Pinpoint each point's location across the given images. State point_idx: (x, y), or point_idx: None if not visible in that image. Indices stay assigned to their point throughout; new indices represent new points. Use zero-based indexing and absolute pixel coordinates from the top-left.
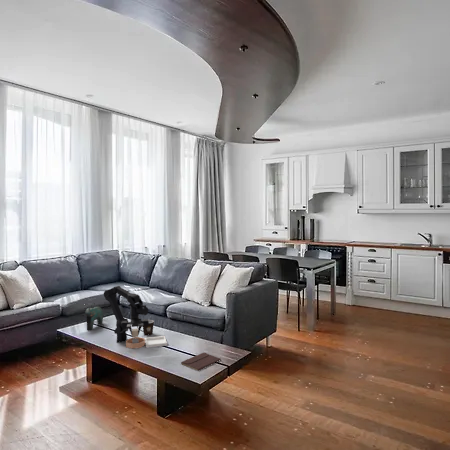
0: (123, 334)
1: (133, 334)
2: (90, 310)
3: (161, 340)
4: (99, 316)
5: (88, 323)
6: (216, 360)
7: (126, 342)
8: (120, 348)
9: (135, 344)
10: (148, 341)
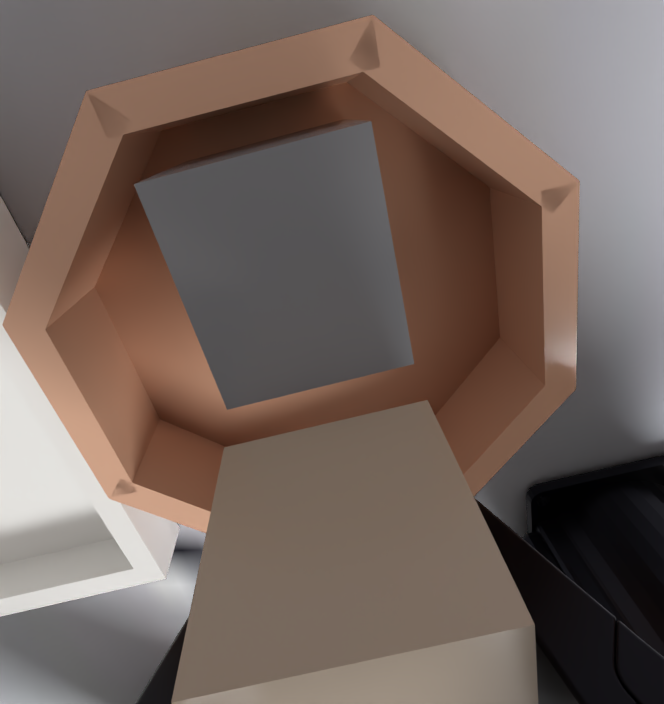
0: (661, 614)
1: (406, 479)
2: None
3: None
4: None
5: None
6: None
7: (565, 213)
8: (643, 134)
9: (237, 52)
10: (72, 477)
